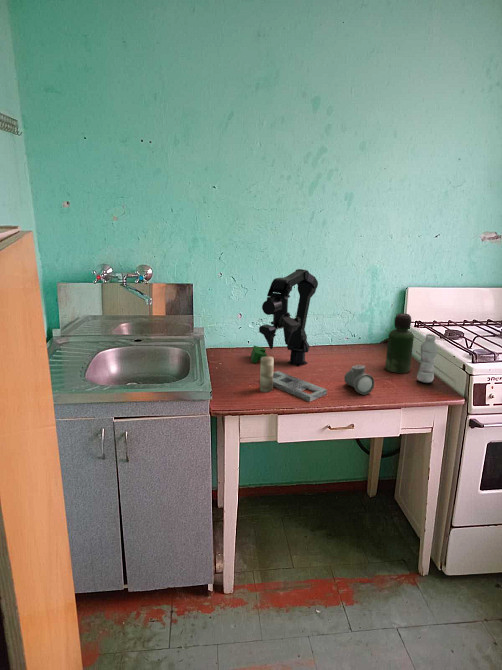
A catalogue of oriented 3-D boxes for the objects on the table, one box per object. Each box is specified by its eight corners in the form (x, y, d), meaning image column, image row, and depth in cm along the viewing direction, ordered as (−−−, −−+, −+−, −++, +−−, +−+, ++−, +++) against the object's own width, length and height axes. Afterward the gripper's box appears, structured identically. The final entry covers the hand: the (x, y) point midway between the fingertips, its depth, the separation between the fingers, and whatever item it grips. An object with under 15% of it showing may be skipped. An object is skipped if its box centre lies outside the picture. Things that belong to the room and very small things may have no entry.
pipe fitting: (375, 392, 184) (374, 367, 181) (357, 397, 181) (356, 371, 179) (359, 384, 195) (357, 360, 193) (341, 388, 192) (340, 364, 190)
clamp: (261, 371, 216) (266, 358, 211) (249, 368, 216) (254, 355, 210) (262, 354, 225) (267, 341, 220) (251, 352, 224) (256, 339, 219)
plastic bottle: (425, 385, 192) (431, 338, 187) (412, 380, 198) (418, 334, 192) (436, 383, 195) (443, 336, 190) (424, 377, 201) (430, 332, 195)
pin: (270, 386, 189) (271, 355, 185) (274, 391, 184) (275, 360, 180) (258, 387, 187) (259, 356, 184) (261, 392, 183) (262, 361, 179)
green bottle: (395, 375, 203) (401, 318, 196) (380, 366, 213) (386, 312, 205) (414, 372, 207) (421, 316, 200) (399, 364, 216) (405, 311, 209)
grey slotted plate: (277, 375, 200) (278, 370, 200) (326, 394, 182) (327, 389, 182) (260, 381, 194) (261, 376, 193) (309, 401, 176) (310, 396, 175)
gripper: (278, 317, 180) (277, 356, 184) (310, 310, 192) (308, 346, 196) (258, 312, 187) (257, 349, 192) (290, 305, 200) (288, 340, 204)
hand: (279, 346), depth 196 cm, fingers open, 9 cm apart
